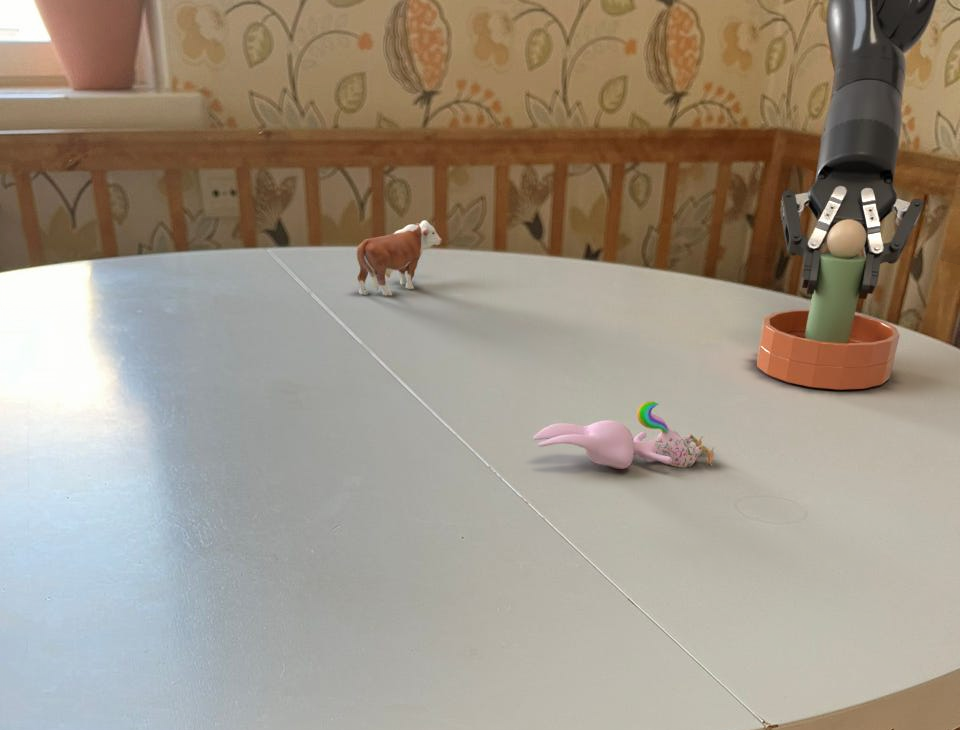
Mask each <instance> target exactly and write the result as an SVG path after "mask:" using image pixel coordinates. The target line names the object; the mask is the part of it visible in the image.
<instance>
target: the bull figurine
mask: <svg viewBox="0 0 960 730" xmlns="http://www.w3.org/2000/svg"><path fill="white" fill-rule="evenodd" d="M442 240H443V239H442V238H441V237H440V236H439V234H438V232H437V231H436V229H435V227H434V226H433V225H431V223H430V222H429V221H427V220H426V219H425V220H422V221H421V222H420V223H419V222H416V223H415V224H414V223H413V224H408V225H406V226H404V227H403V228H402V229H398V230H396V231H395V232H393V233H390V234H386V235H382V236H377V237H371V238H366V239H364V240H363V241H362V242H361V243H359V245H358V246H357V248H356V259H357V263H358V265H359V273H358V275H357V281H358V285H359V291H358V294H360V295H363V296H365V295H366V296H367V295H368V294H369V292H368V291H367V289H366V280H367V278H368V275H369V277H370V281H371V284H372V285H373V288H374V289H375V291H378V290H379V286H380V287H381V290H382V296H386V297H388V296H393V292H391V290H390V289H389V287H388V285H387V282H386V278H387V279H390V277H391V275H392V273H393V272H398V274H399V277H400V281H399V284H400V285H401V286H405V289H407V290H414V289H415V287H414V285H413V279H414V277H415V272H416V269H417V267H418V264H419V260H420V257H422V255H423V252H424V251H426V250H427V251H428V250H429V249H430V248H431V247H432V246H434V245H436V246H440V245H441V244H442ZM406 276H407V278H406Z"/></svg>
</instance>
